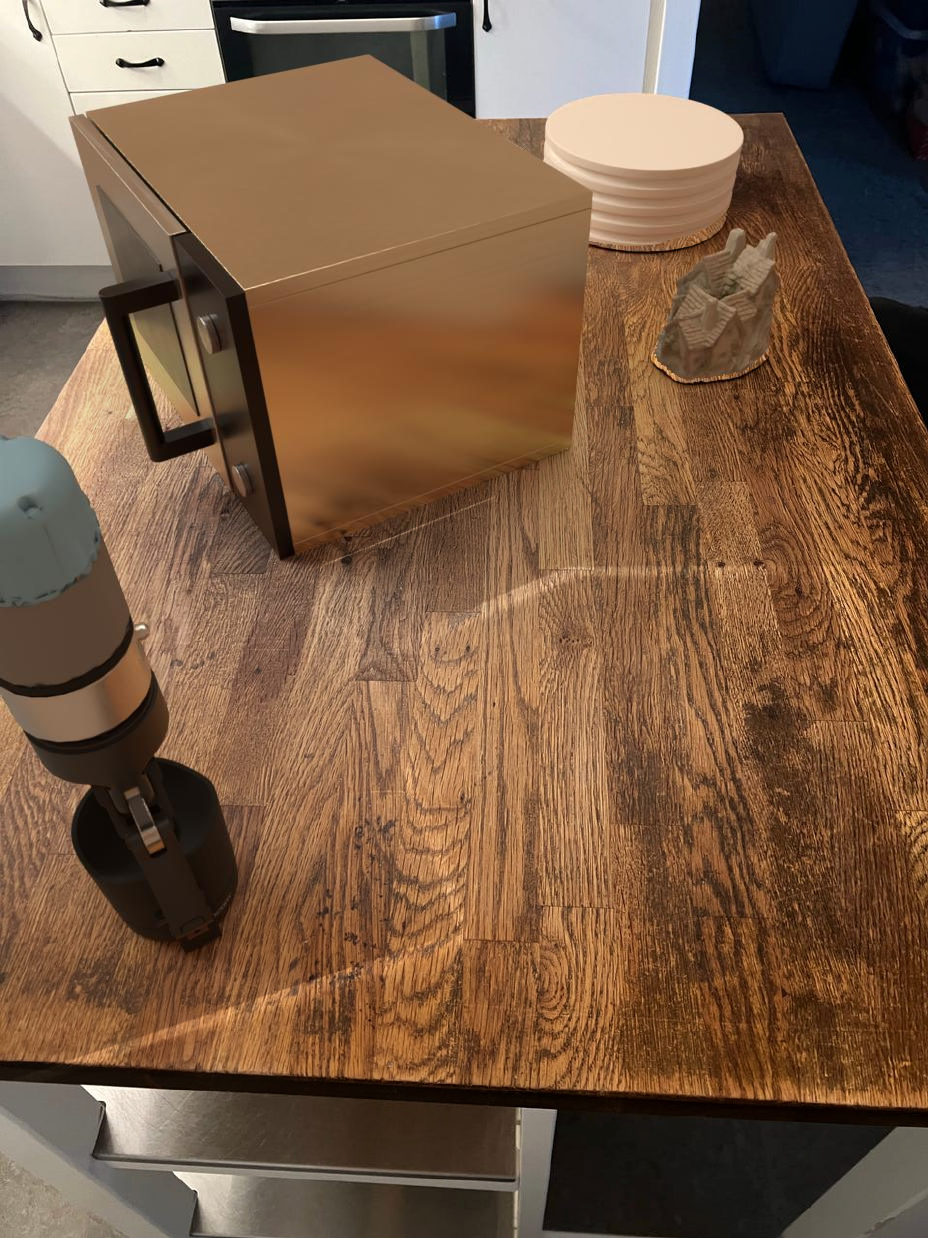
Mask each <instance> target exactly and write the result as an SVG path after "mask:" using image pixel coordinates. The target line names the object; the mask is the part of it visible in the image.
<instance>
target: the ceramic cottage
mask: <svg viewBox="0 0 928 1238" xmlns="http://www.w3.org/2000/svg"><path fill="white" fill-rule="evenodd" d="M746 236H747V234H746V232H745V230H744V229H743V228H740V227H737V228H732V230H731V231H729V234H728V237H727V240H726V244H725V248H724V249H723V250H720V251H717V252H716V253H713V254H709V255H706V256H703V257H701V259H700V260H699V261H698V262H697V263H696V265H694V266H693V268H692V269H690V270H689V271H687V272H686V273H685V274H684V275H682V276H679V277H678V278H677V279H676V282H675V283H676V287H677V289H676V293H675V294H674V295H673V296H672V298H671V301H672V303H673V304H672V308H671V309H669V311H670V316H669V318H667V319H666V321H665V322H667V323H668V322H669V323H670V324H667V325H666V326H664V327H663V330H662V331H660V330H659V332H658V334H657V337H658V341H659V342H658V344H657V345H656V347H657V348H656V349H653V348H652V350H655V352H654V353H653V354H656V356H655V358H657V361H658V362H660V363H661V365H664V366H666V367H667V370H670V371H671V373H674V374H675V375H677V376H678V377H680V378H683V379H686V380H693V379H695V378H701V379H702V378H709V377H710V378H711V377H714V376H716V377H717V376H721V375H722V376H723V374H725V375H729V374H733V373H735V372H736V373H737V372H740V371H744V370H746V369H747V368H748V367H749V366H751V365H752V364H753V362H754V361H756V360H757V359H758V358H760V357H761V356H762V355H763V354H764V353H765V352H766V350H767V349H768V348H769V346H770V347H771V345H770V330H771V327H772V324H773V320H774V313H773V309H772V307H773V303H774V300H775V297H776V292H777V290H778V289H779V287H780V286H782V285H781V281H782V280H781V277H779V274H778V273H777V268H776V264H777V262H776V261H774V259H775V256H776V243H777V240H778V237H779V235H778V234H777V233H776V232H774V231H772V232H769V233H768V234H766V236H765V238H764V239H761V240H760V241H759V243H758V244H757V246H756V247H754V246H753V245H751V244H747V245H746V238H747V237H746ZM671 321H672V322H671Z"/></svg>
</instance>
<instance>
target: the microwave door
mask: <svg viewBox="0 0 928 1238" xmlns="http://www.w3.org/2000/svg"><path fill="white" fill-rule="evenodd" d="M68 121H69V126H70V129H71V132H72V136H73V138H74V139H73V140H74V142H75V145H76V146H75V147H76V148H77V152H78V156H79V159H80V162H81V165H82V170H83V172H84V173H83V174H84V176H85V179H86V183H87V187H88V190H89V193H90V196H91V200H92V203H93V207H94V210H95V213H96V216H97V219H98V224H99V227H100V229H101V233H102V237H103V240H104V245H105V247H106V250H107V254H108V257H109V261H110V264H111V268H112V270H113V275H114V277H115V281H116V284H112V285H108V286H105V287H103V288H101V289H100V290H99V291H98V293H97V295H98V299H99V301H100V304H101V307H102V311H103V315H104V318H105V320H106V323H107V327H108V330H109V333H110V336H111V339H112V343H113V346H114V349H115V352H116V355H117V359H118V362H119V365H120V368H121V372H122V375H123V378H124V381H125V384H126V387H127V391H128V394H129V396H130V399H131V403H132V407H133V410H134V413H135V416H136V419H137V422H138V426H139V429H140V432H141V435H142V439H143V442H144V445H145V447H146V452H147V454H148V457H149V460H150V461H151V462H153V463H164V462H167V461H170V460H174V459H175V458H179V457H182V456H184V455H188V454H191V453H193V452H196V451H200V450H202V451H203V452H204V454H205V455H206V456H207V458H208V460H209V461H210V463H211V465H212V466H213V467H214V469H215V471H217V473H218V475H219V476H220V477H221V479H222V480H223V482H224V483H225V485H226V486H227V488H228V489H229V491H230V492H235V491H234V487H233V483H232V479H231V475H230V471H229V466H228V462H227V458H226V454H225V450H224V446H223V442H222V437H221V433H220V429H219V425H218V421H217V417H216V412H215V408H214V404H213V400H212V396H211V392H210V388H209V383H208V379H207V375H206V371H205V367H204V363H203V359H202V354H201V350H200V346H199V342H198V338H197V334H196V329H195V325H194V321H193V317H192V313H191V309H190V305H189V300H188V296H187V292H186V288H185V284H184V280H183V275H182V271H181V267H180V263H179V259H178V255H177V251H176V246H175V242H174V237H176V236H180V235H184V234H187V231H186V230H185V229H184V228H183V226H182V225H181V224H180V223H179V222H178V221H177V220H176V219H175V217H174V216H173V215H172V214H171V213H170V212H169V211H168V210H167V208H166V207H165V206H164V205H163V204H162V203H161V202H160V200H159V199H158V198H157V197H156V196H155V195H154V194H153V193H152V191H151V190H150V189H149V188H148V187H147V186H146V185H145V183H144V182H143V181H142V180H141V179H140V178H139V177H138V176H137V174H136V173H135V172H134V171H133V170H132V169H131V168H130V166H129V165H128V164H127V163H126V162H125V161H124V160H123V159H122V157H121V156H120V155H119V154H118V153H117V152H116V151H115V149H114V148H113V147H112V146H111V145H110V144H109V143H108V142H107V140H106V139H105V138H104V137H103V136H102V135H101V134H100V132H99V131H98V130H97V129H96V128H95V127H94V126H93V125H92V123H91V122H90V121H89V120H88V119H87V116H86V115H85V114H84V113H80V114H74V115H70V116H68ZM141 357H142V358H141ZM142 359H143V360H142ZM143 361H144V362H145V363H144V362H143ZM145 364H146V365H147V366H146V365H145ZM144 365H145V366H146V368H147V367H148V368H147V369H148V370H149V372H150V374H151V375H152V377H153V378H154V379H155V381H156V383H157V384H158V385H159V387H160V388H161V390H162V392H163V393H164V394H165V396H166V397H167V399H168V401H169V402H170V403H171V404H172V406H173V408H174V409H175V411H176V412H177V414H178V415H179V416H180V418H181V420H182V421H183V423H184V425H181V426H177V427H174V428H172V429H169V430H166V431H164V429H163V426H162V423H161V419H160V417H159V413H158V410H157V406H156V403H155V399H154V396H153V392H152V389H151V385H150V382H149V379H148V376H147V372H146V368H145V366H144Z"/></svg>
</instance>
